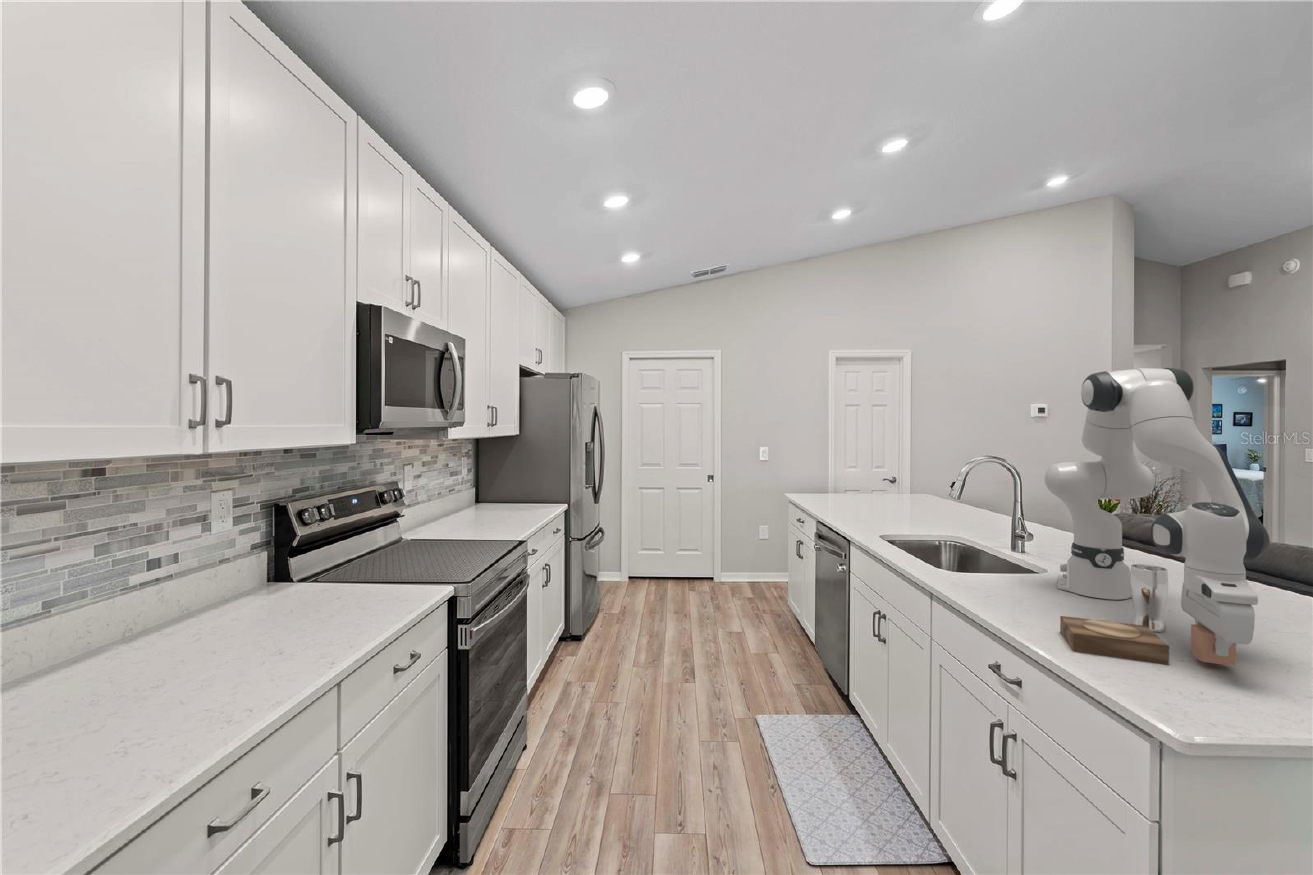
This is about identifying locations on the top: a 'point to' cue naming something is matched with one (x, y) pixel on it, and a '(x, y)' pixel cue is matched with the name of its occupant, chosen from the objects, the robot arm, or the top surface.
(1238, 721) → the top surface
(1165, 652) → the block
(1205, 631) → the terracotta block
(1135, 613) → the beer glass
